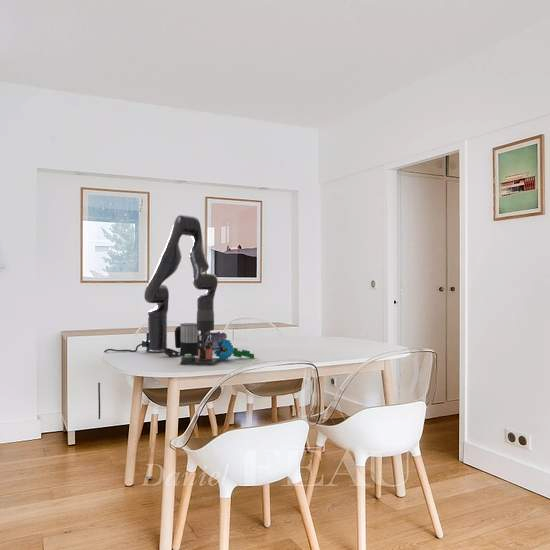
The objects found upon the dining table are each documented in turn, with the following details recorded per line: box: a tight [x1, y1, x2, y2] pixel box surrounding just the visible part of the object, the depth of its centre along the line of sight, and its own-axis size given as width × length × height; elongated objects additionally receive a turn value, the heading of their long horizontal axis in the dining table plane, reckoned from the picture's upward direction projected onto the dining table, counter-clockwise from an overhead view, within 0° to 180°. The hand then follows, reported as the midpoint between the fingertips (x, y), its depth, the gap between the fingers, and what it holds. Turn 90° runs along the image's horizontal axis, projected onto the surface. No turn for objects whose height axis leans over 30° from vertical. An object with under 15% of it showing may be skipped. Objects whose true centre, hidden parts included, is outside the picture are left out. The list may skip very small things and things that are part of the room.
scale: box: [180, 355, 221, 367], centre depth 232 cm, size 14×12×3 cm
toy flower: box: [213, 339, 255, 361], centre depth 242 cm, size 9×9×18 cm
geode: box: [199, 331, 228, 350], centre depth 278 cm, size 20×12×10 cm, turn 116°
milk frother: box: [163, 322, 200, 358], centre depth 254 cm, size 14×16×15 cm
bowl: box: [197, 348, 214, 360], centre depth 233 cm, size 6×6×4 cm
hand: (205, 357), depth 233 cm, fingers closed on bowl, 6 cm apart
